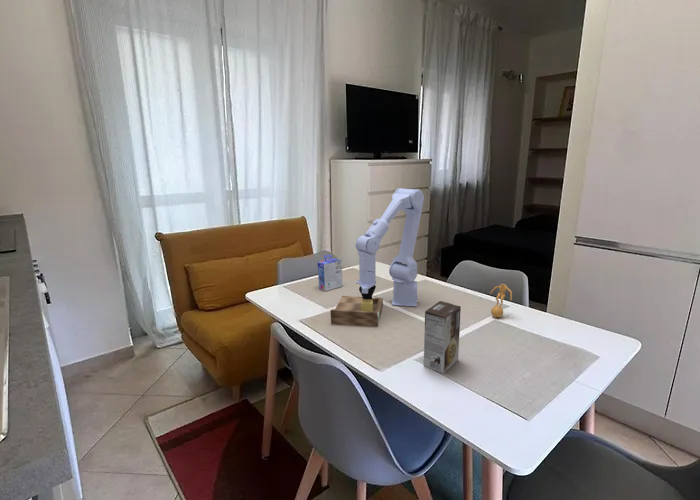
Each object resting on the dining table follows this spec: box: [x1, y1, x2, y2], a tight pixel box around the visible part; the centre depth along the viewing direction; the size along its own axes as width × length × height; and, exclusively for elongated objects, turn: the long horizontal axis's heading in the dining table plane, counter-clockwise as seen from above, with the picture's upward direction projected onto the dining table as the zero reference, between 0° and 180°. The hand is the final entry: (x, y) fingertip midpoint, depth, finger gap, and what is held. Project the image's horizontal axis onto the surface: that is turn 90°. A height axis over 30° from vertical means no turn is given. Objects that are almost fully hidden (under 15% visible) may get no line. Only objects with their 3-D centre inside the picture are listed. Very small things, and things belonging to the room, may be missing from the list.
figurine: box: [489, 283, 513, 318], centre depth 131 cm, size 8×6×12 cm
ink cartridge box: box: [317, 254, 343, 292], centre depth 164 cm, size 10×6×14 cm, turn 129°
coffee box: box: [423, 300, 462, 374], centre depth 101 cm, size 9×6×16 cm
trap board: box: [330, 295, 384, 328], centre depth 137 cm, size 16×21×5 cm
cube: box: [361, 299, 373, 312], centre depth 131 cm, size 4×4×4 cm
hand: (367, 305), depth 135 cm, fingers closed
